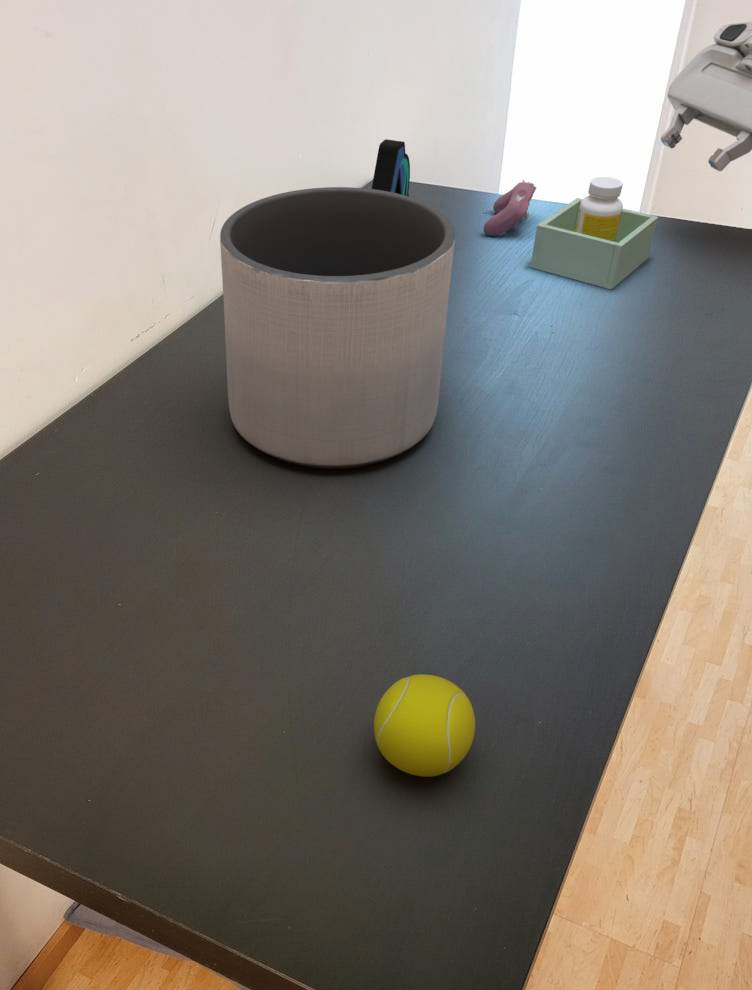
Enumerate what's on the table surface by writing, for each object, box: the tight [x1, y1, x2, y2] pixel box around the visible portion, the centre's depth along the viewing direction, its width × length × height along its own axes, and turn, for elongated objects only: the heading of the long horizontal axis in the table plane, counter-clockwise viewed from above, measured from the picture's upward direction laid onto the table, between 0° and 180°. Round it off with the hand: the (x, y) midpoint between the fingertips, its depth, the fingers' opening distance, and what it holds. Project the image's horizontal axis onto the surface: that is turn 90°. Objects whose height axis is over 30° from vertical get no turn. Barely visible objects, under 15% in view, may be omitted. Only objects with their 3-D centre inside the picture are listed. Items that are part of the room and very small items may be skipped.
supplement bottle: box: [574, 176, 624, 242], centre depth 123 cm, size 5×5×10 cm
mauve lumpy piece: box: [483, 179, 537, 237], centre depth 134 cm, size 10×5×7 cm, turn 161°
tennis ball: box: [373, 673, 476, 778], centre depth 66 cm, size 7×7×7 cm
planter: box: [219, 186, 456, 469], centre depth 93 cm, size 22×22×20 cm
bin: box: [529, 197, 659, 290], centre depth 124 cm, size 12×12×6 cm
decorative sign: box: [371, 138, 411, 197], centre depth 123 cm, size 19×2×15 cm, turn 155°
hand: (689, 155), depth 121 cm, fingers open, 8 cm apart
